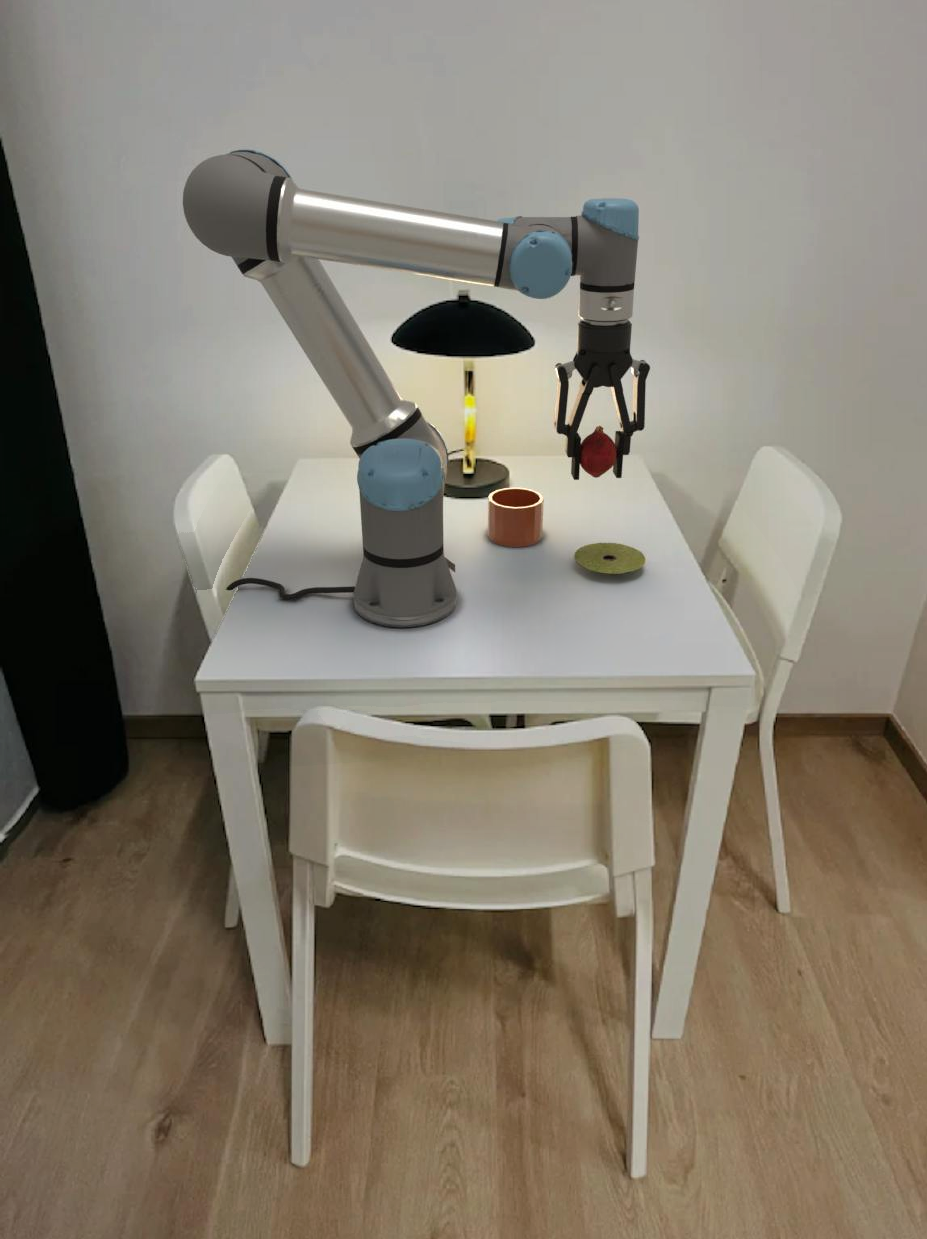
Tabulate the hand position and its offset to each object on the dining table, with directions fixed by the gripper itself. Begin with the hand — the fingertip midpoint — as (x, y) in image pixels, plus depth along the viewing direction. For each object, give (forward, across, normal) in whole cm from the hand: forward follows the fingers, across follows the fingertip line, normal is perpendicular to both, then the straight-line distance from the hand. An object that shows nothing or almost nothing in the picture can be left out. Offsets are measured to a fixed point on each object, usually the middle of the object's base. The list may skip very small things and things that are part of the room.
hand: (596, 475), depth 140 cm
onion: (0, 0, 0) cm, 0 cm away
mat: (+15, +3, -1) cm, 16 cm away
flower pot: (+15, -11, +12) cm, 22 cm away
